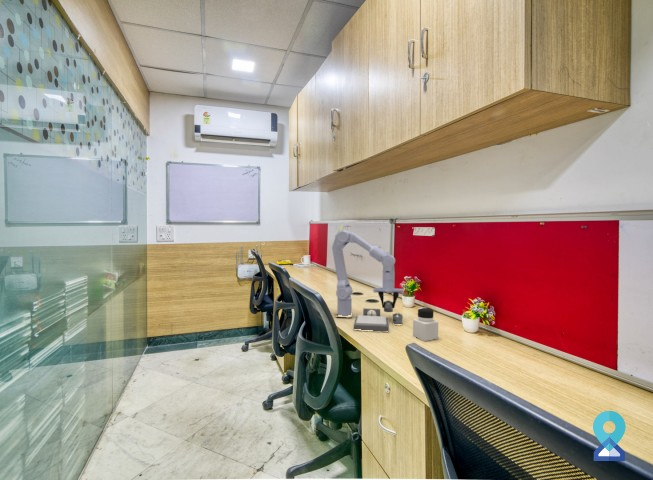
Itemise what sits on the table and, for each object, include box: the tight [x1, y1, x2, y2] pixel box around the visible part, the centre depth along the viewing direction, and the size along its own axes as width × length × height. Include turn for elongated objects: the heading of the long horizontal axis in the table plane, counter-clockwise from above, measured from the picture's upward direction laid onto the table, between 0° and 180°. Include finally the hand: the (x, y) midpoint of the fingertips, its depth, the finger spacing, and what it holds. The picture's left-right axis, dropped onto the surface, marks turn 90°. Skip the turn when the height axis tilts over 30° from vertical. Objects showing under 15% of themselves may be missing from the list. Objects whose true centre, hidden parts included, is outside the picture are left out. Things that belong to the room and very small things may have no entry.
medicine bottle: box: [412, 307, 439, 342], centre depth 128 cm, size 7×7×12 cm
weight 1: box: [383, 300, 394, 313], centre depth 154 cm, size 4×4×5 cm
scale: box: [353, 307, 390, 333], centre depth 144 cm, size 17×15×6 cm
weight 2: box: [392, 312, 403, 325], centre depth 147 cm, size 4×4×5 cm
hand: (388, 307), depth 154 cm, fingers closed on weight 1, 4 cm apart
